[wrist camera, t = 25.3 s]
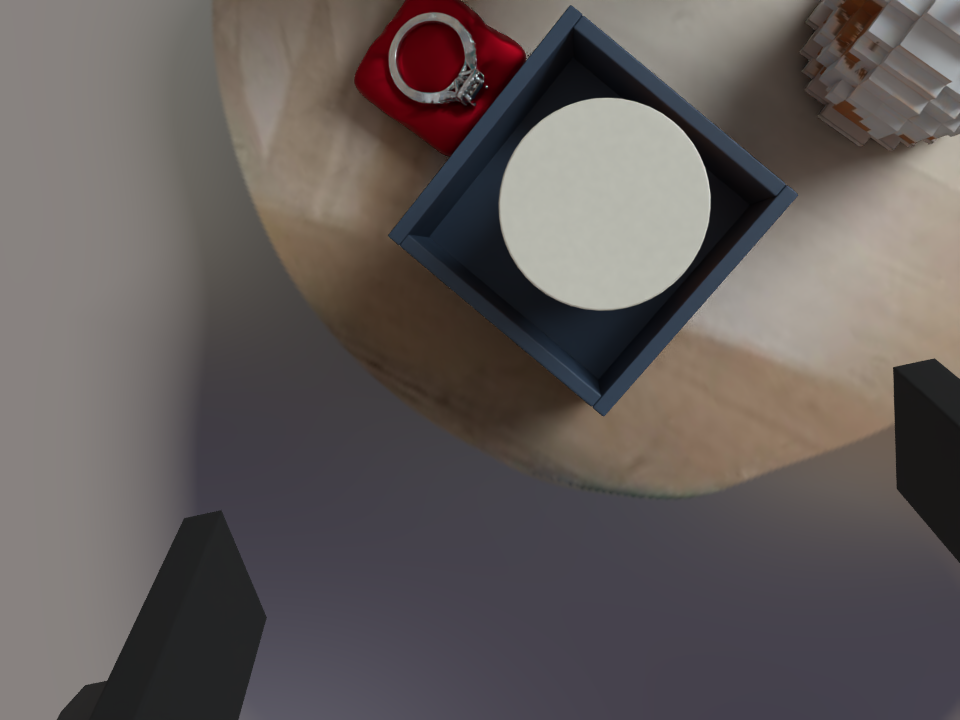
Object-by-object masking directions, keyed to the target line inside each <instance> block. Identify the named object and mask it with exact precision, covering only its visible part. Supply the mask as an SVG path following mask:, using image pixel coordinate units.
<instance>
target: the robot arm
mask: <svg viewBox="0 0 960 720" xmlns="http://www.w3.org/2000/svg"><path fill="white" fill-rule="evenodd" d="M893 375H894V410H895V441H896V442H895V444H896V478H897V489H898V491H899V492H900V493H901V494H902V495H903V497H904V498H905V499H906V500H907V501H908V502H909V504H910V505H911V506H912V507H913V508H914V510H915V511H916V512H917V513H918V514H919V515H920V517H921V518H922V519H923V520H924V521H925V522H926V524H927V525H928V526H929V527H930V528H931V530H932V531H933V532H934V533H935V534H936V535H937V537H938V538H939V539H940V540H941V541H942V543H943V544H944V545H945V546H946V547H947V548H948V550H949V551H950V552H951V553H952V554H953V556H954V557H955V558H956V559H957V560H958V561H959V563H960V379H959V378H958V377H957V376H955V375H954V374H953V373H952V372H950V371H949V370H948V369H947V368H946V367H944V366H943V365H942V364H941V363H939V362H938V361H937V360H936V359H930V360H925V361H920V362H916V363H911V364H906V365H902V366H897V367H893ZM266 618H267V617H266V615H265V612H264V610H263V608H262V605H261V603H260V601H259V598H258V596H257V594H256V591H255V589H254V587H253V584H252V582H251V579H250V577H249V575H248V572H247V570H246V568H245V565H244V563H243V560H242V558H241V556H240V553H239V551H238V549H237V546H236V544H235V542H234V539H233V537H232V534H231V532H230V530H229V528H228V525H227V523H226V520H225V518H224V516H223V513H222V511H216V512H212V513H207V514H202V515H197V516H193V517H188V518H184V520H183V522H182V524H181V526H180V528H179V530H178V533H177V535H176V537H175V539H174V541H173V543H172V545H171V547H170V550H169V551H168V554H167V556H166V558H165V560H164V562H163V564H162V566H161V568H160V570H159V573H158V575H157V577H156V579H155V581H154V583H153V585H152V588H151V590H150V592H149V594H148V596H147V598H146V600H145V602H144V604H143V606H142V608H141V611H140V613H139V615H138V617H137V619H136V621H135V623H134V625H133V628H132V630H131V632H130V634H129V636H128V638H127V640H126V642H125V645H124V647H123V649H122V651H121V653H120V655H119V657H118V659H117V661H116V663H115V666H114V668H113V670H112V672H111V674H110V676H109V678H108V680H107V681H104V682H99V683H94V684H90V685H85V686H84V687H83V688H82V689H81V690H80V692H79V693H78V694H77V695H76V696H75V697H74V698H73V699H72V701H70V703H69V704H68V705H67V706H66V707H65V708H64V709H63V710H62V711H61V713H60V715H59V717H58V719H57V720H238V719H239V715H240V712H241V708H242V705H243V701H244V697H245V694H246V690H247V686H248V683H249V679H250V676H251V672H252V668H253V665H254V661H255V657H256V654H257V650H258V647H259V643H260V639H261V636H262V632H263V628H264V625H265V621H266Z"/></svg>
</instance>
